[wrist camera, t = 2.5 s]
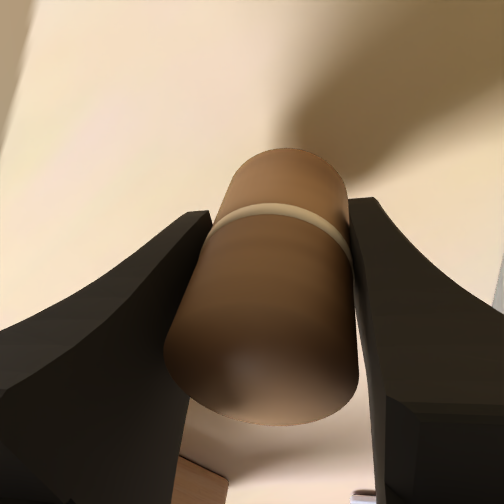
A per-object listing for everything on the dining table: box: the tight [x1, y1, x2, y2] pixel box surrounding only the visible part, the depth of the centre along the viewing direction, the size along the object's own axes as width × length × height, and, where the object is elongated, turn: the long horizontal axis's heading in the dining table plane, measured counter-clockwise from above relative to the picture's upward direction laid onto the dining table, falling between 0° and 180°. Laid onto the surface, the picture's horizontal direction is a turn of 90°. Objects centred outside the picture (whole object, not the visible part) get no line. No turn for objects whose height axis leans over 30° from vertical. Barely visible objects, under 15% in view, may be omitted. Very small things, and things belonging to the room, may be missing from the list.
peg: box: [163, 148, 359, 426], centre depth 10 cm, size 4×4×6 cm
